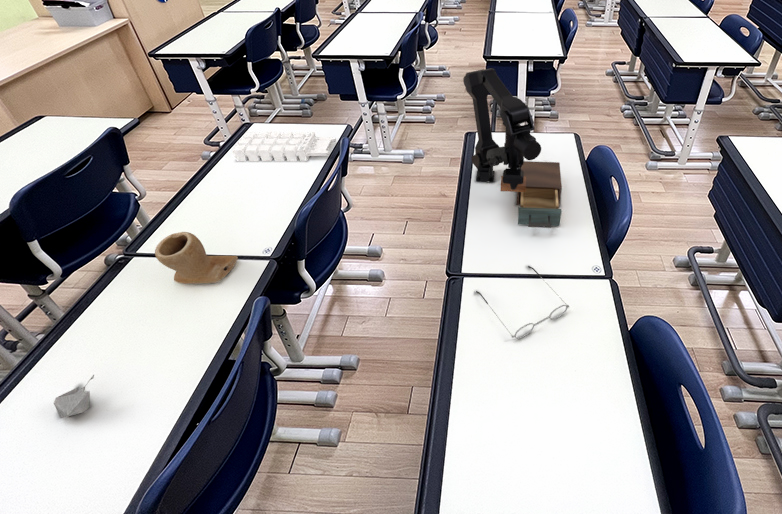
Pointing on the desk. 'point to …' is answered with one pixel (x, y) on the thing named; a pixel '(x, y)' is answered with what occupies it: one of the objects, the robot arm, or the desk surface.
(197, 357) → the desk surface
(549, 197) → the drawer
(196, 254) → the clay pipe
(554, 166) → the cabinet
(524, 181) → the brown rectangular box
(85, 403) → the grey faceted ornament
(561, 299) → the eyeglasses
